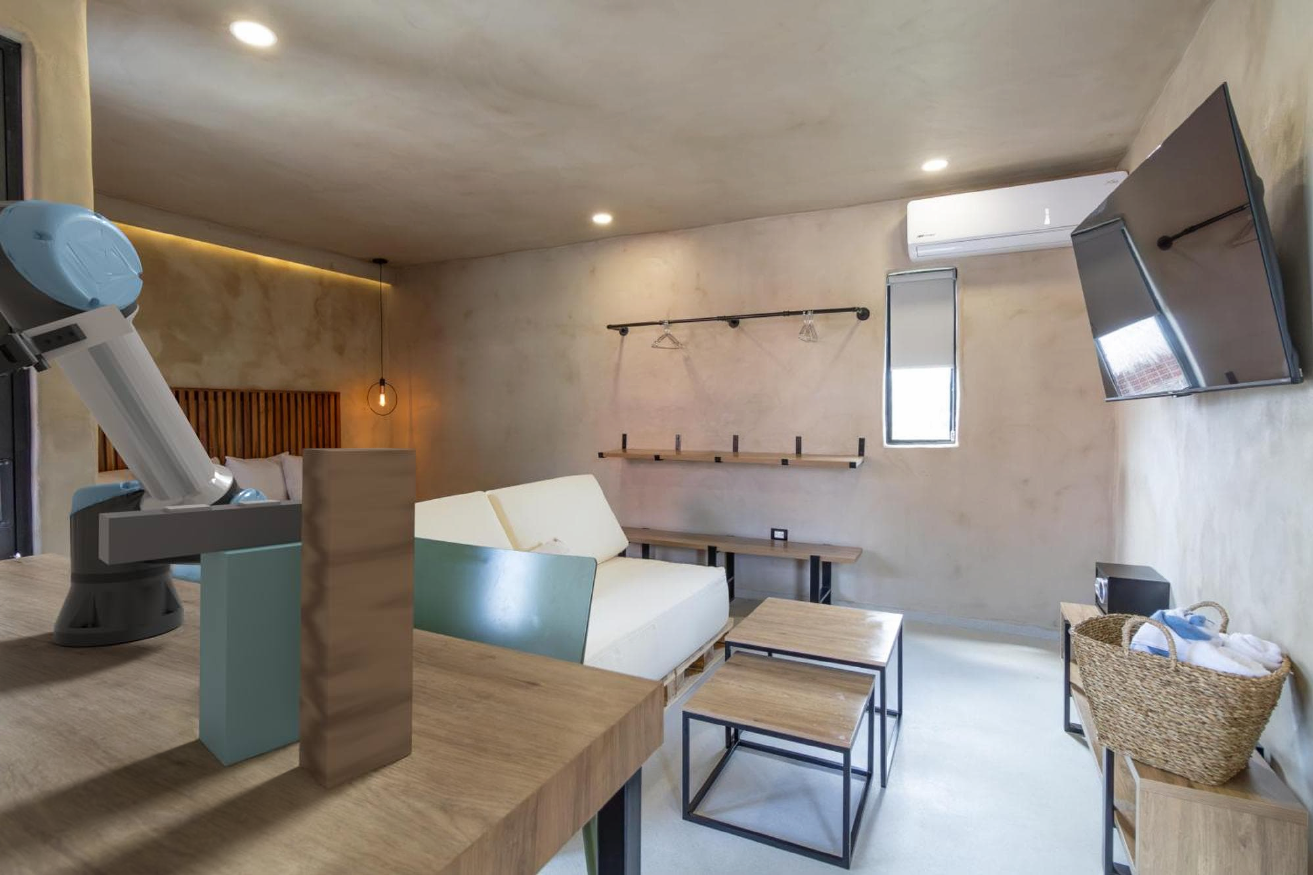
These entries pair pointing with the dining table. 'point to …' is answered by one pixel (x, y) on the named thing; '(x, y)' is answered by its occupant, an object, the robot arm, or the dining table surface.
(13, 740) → the dining table surface
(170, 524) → the power strip
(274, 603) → the teal block
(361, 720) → the walnut stand
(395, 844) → the dining table surface
